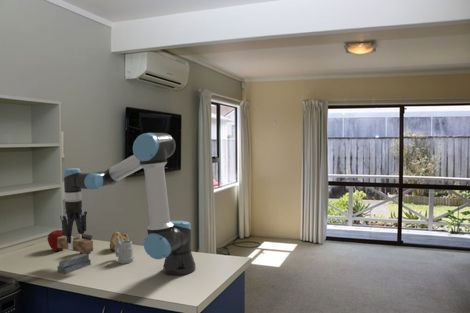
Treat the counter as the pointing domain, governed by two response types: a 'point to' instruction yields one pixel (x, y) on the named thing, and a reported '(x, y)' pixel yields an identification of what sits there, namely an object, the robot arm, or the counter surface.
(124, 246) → the mug
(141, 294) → the counter surface
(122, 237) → the rock
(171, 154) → the robot arm
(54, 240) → the apple
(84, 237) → the coffee cup
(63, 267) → the ridge
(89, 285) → the counter surface
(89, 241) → the walnut bar
